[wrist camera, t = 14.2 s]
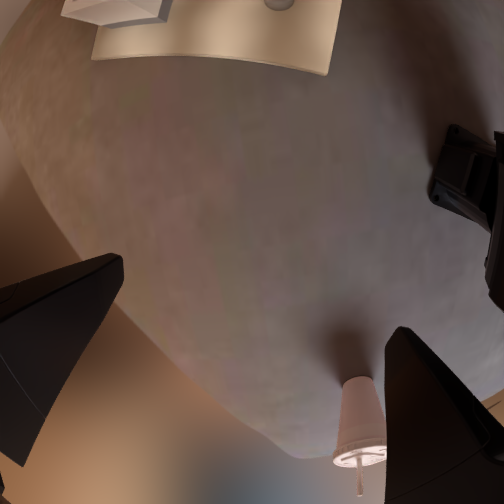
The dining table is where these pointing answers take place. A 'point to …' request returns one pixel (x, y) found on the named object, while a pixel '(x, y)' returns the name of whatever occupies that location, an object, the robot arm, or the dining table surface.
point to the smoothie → (360, 428)
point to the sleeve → (118, 12)
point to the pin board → (233, 33)
